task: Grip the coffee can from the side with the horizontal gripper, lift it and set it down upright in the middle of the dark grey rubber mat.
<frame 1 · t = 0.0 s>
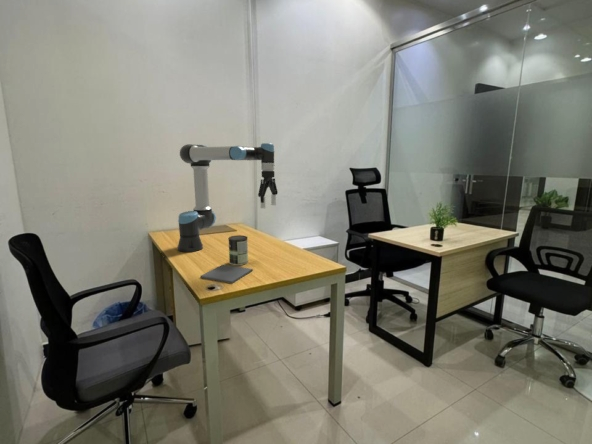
hand: (268, 206, 186), 28 cm above the table, tool pointing down, fingers open, 13 cm apart
coffee can: (238, 262, 172), on the table
rubber mat: (227, 274, 153), on the table
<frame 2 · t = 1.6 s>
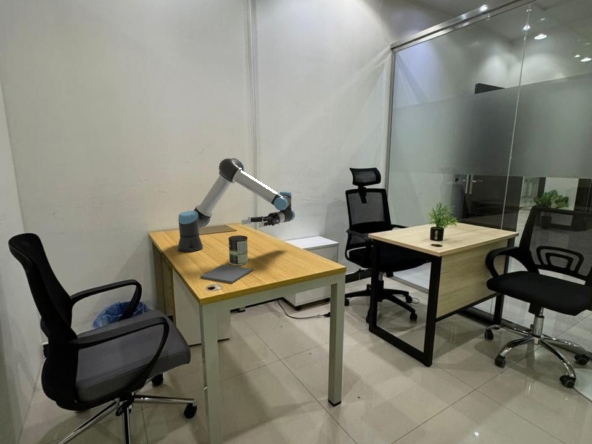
hand: (250, 223, 175), 20 cm above the table, tool horizontal, fingers open, 13 cm apart
nothing on the table moved.
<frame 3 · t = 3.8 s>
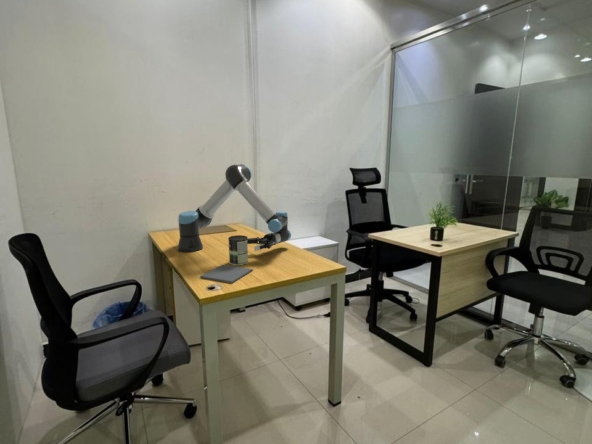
hand: (246, 246, 174), 8 cm above the table, tool horizontal, fingers open, 13 cm apart
nothing on the table moved.
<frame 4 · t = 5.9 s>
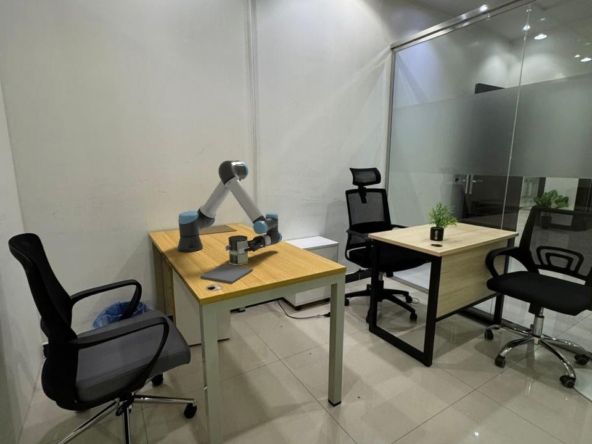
hand: (232, 249, 167), 8 cm above the table, tool horizontal, fingers closed on coffee can, 10 cm apart
coffee can: (238, 262, 172), on the table, touching gripper
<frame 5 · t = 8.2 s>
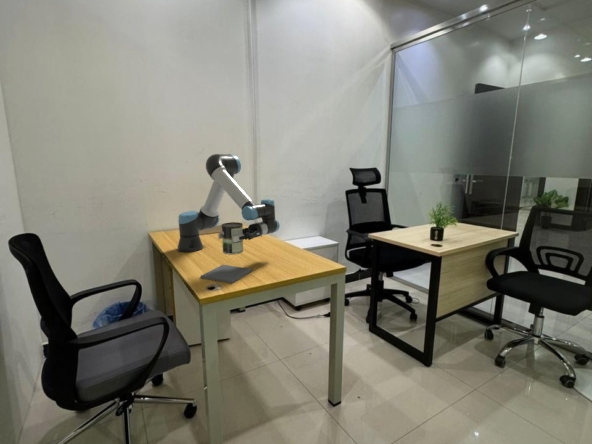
hand: (225, 237, 152), 18 cm above the table, tool horizontal, fingers closed on coffee can, 10 cm apart
coffee can: (233, 252, 157), point 10 cm above the table, touching gripper
when the fingers open (10 cm above the table, at t = 10.9 s): coffee can drops 1 cm, resting on rubber mat.
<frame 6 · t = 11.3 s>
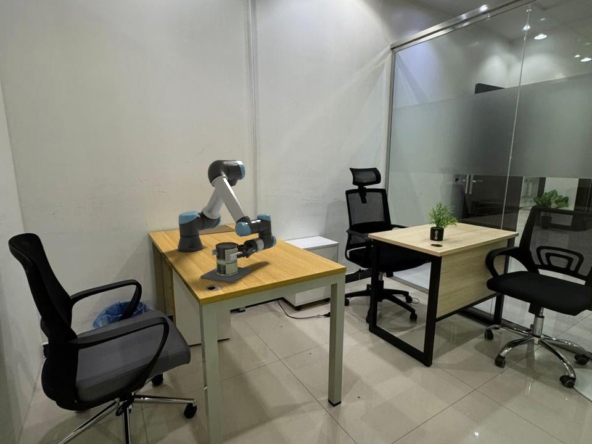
hand: (221, 255, 149), 11 cm above the table, tool horizontal, fingers open, 13 cm apart
coffee can: (227, 272, 153), point 1 cm above the table, touching rubber mat
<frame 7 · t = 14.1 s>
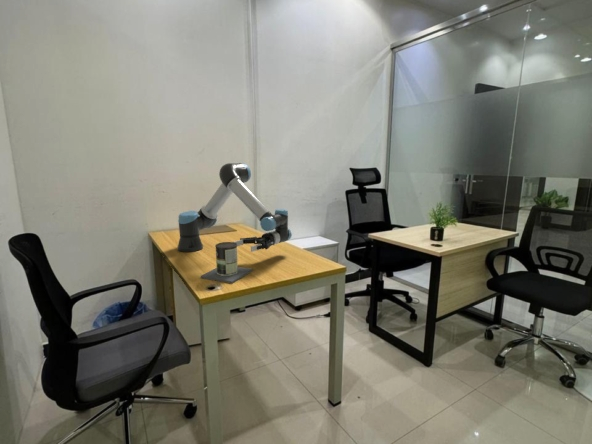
hand: (242, 246, 160), 12 cm above the table, tool horizontal, fingers open, 13 cm apart
nothing on the table moved.
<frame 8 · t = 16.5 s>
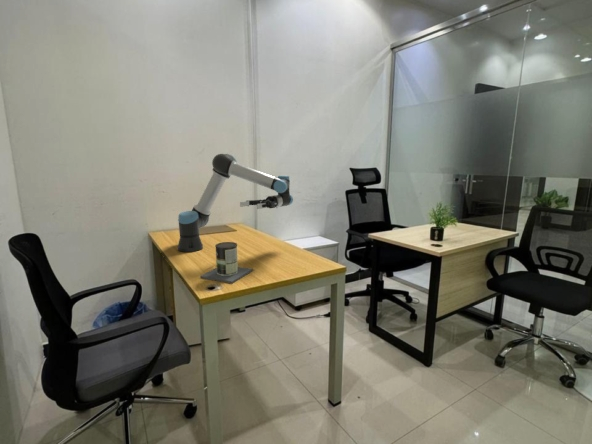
hand: (248, 205, 176), 30 cm above the table, tool horizontal, fingers open, 13 cm apart
nothing on the table moved.
at the end: coffee can inside the target area on the rubber mat (0.1 cm from its centre), point 0.8 cm above the rubber mat's base; coffee can tilted 0°; the gripper is holding nothing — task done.
